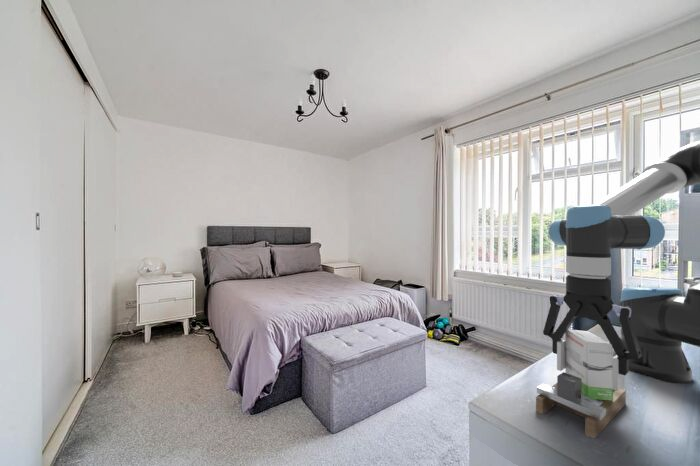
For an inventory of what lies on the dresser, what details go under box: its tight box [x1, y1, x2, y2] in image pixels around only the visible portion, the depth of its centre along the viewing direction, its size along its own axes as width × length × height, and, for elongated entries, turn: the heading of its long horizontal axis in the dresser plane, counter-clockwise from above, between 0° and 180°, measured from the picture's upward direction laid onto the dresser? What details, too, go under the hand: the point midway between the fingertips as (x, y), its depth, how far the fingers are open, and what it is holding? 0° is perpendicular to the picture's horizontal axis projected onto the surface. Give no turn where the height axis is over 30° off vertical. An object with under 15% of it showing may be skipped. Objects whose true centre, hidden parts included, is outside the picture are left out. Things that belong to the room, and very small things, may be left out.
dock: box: [535, 382, 627, 439], centre depth 59 cm, size 20×9×3 cm, turn 123°
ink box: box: [564, 328, 613, 401], centre depth 61 cm, size 9×5×12 cm, turn 167°
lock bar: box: [536, 372, 606, 421], centre depth 56 cm, size 3×10×5 cm, turn 33°
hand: (587, 377), depth 61 cm, fingers closed on ink box, 9 cm apart
